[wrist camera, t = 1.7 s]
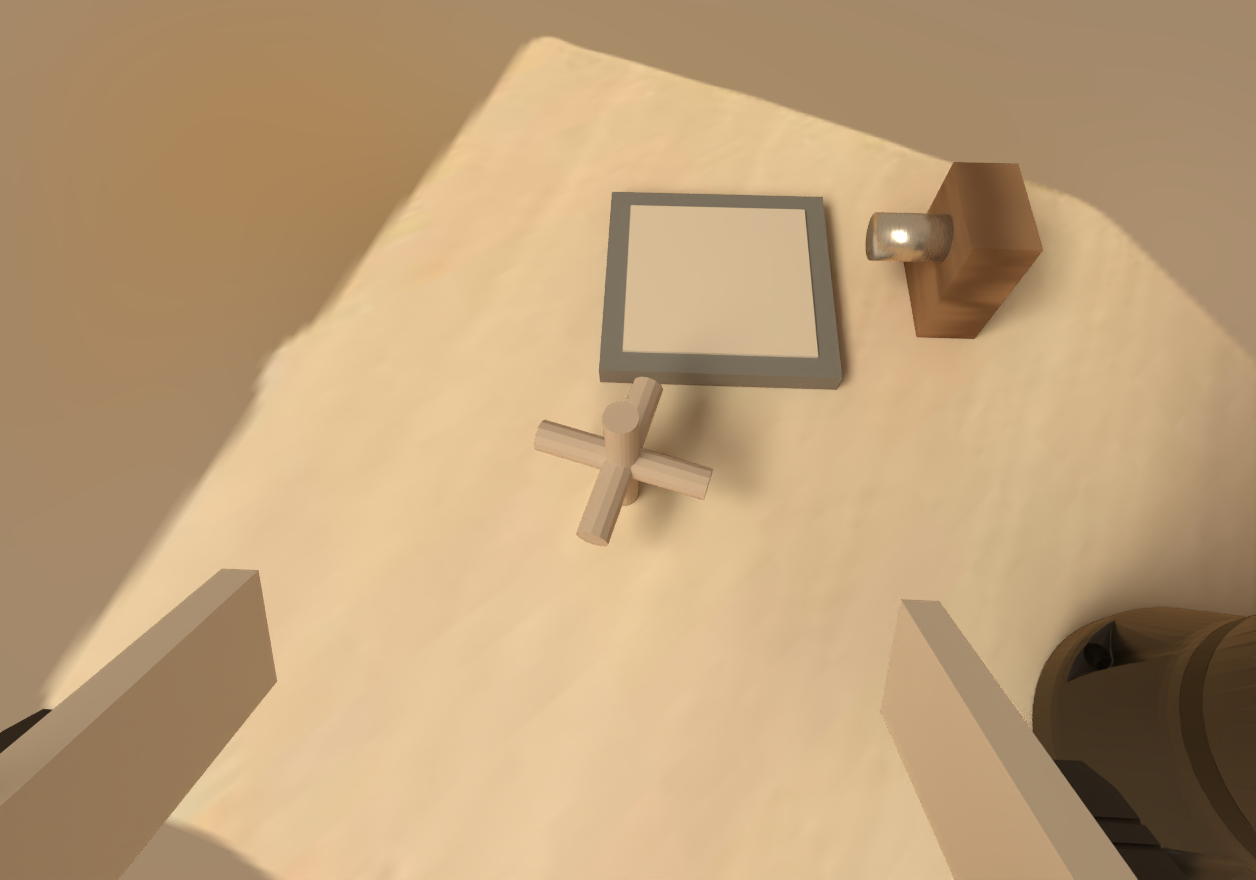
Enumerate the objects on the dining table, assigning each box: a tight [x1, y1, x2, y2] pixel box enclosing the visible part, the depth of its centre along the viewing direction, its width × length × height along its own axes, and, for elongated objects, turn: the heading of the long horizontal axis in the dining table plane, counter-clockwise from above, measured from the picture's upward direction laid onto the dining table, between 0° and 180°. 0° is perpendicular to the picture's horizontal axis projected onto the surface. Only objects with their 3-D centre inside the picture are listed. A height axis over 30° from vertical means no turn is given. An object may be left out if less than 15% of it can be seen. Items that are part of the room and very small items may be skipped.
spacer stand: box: [599, 162, 1043, 390], centre depth 46 cm, size 26×16×9 cm, turn 87°
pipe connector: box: [534, 377, 713, 546], centre depth 39 cm, size 10×10×10 cm
